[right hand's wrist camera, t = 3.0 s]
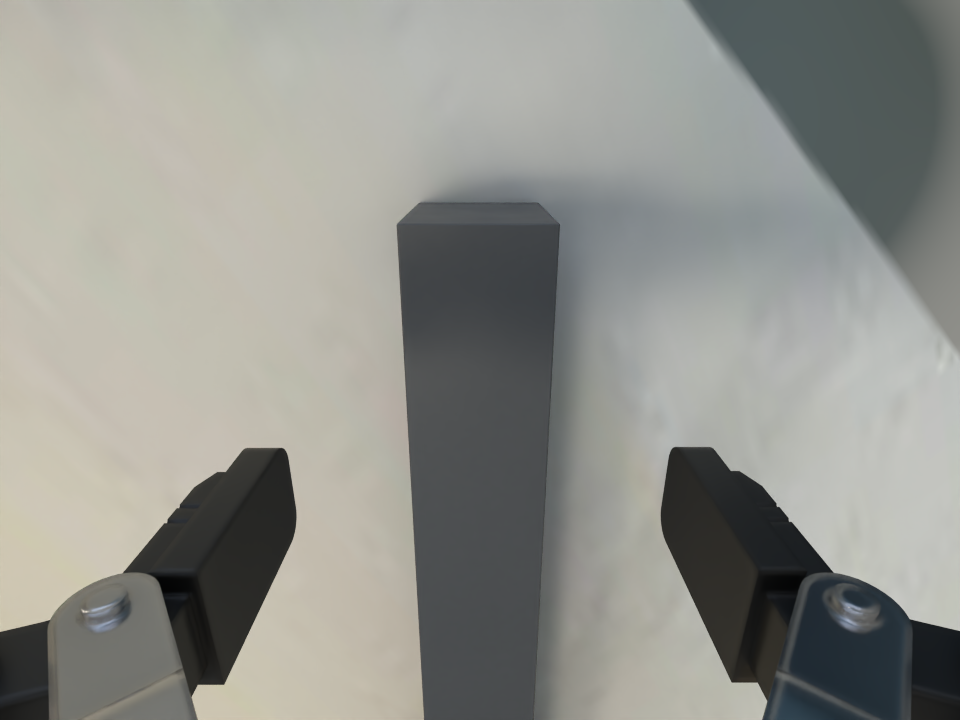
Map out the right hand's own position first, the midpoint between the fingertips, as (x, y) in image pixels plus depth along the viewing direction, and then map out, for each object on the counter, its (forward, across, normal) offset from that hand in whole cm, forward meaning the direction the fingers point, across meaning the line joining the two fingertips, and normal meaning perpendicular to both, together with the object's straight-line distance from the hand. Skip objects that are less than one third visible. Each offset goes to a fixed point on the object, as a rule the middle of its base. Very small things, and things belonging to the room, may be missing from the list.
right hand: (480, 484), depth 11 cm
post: (+13, 0, -33) cm, 35 cm away
